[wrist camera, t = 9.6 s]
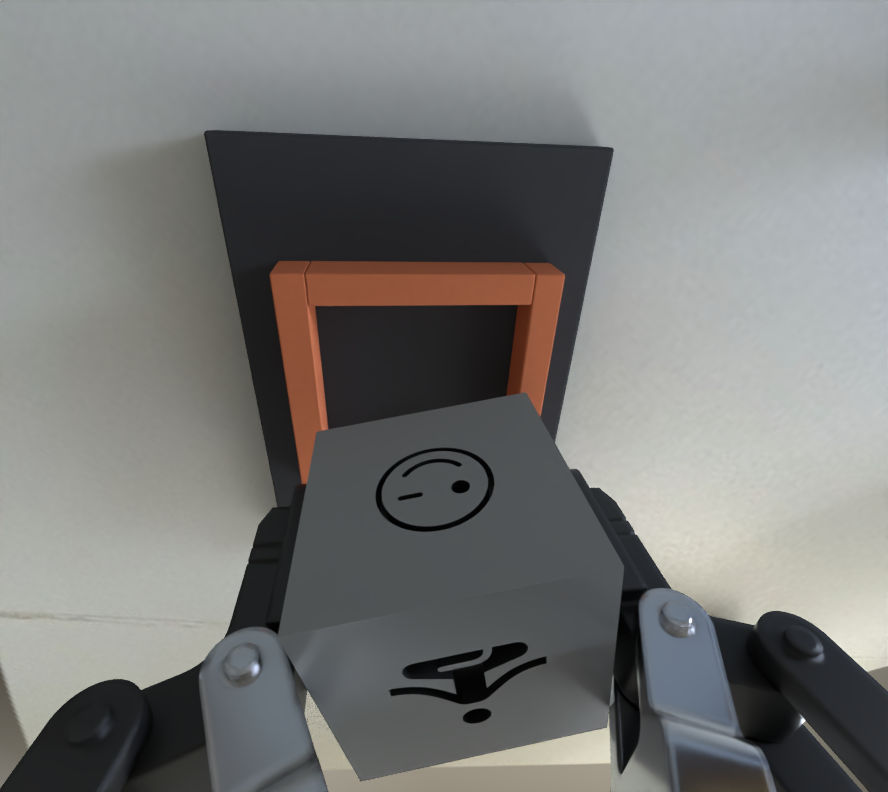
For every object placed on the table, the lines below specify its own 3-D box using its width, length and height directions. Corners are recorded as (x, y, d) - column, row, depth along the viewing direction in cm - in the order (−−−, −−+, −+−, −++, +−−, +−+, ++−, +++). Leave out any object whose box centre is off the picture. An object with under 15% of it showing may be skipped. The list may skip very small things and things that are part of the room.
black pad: (287, 523, 21) (277, 567, 19) (213, 130, 13) (183, 131, 11) (533, 507, 23) (549, 546, 21) (601, 146, 15) (639, 150, 13)
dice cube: (525, 392, 11) (624, 566, 7) (533, 535, 13) (606, 727, 9) (316, 431, 11) (277, 637, 6) (365, 570, 13) (361, 781, 9)
